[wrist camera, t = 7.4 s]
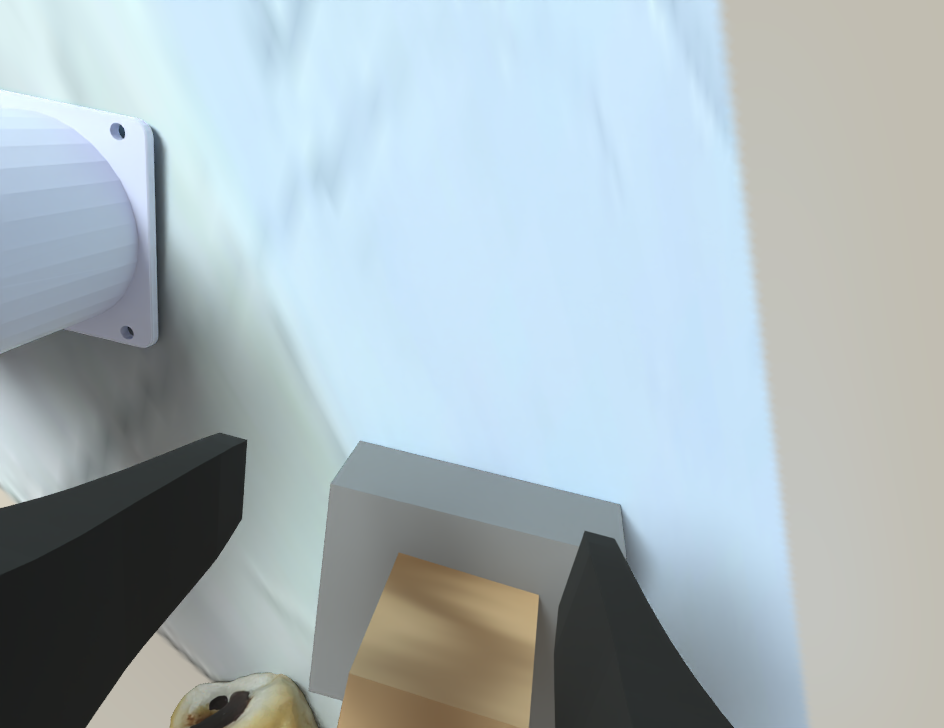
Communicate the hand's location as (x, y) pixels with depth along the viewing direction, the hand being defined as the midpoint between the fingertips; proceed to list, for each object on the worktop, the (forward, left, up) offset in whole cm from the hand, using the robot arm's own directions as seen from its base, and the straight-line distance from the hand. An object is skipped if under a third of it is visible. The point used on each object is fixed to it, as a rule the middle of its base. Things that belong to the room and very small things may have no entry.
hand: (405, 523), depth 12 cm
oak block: (+1, -9, -6) cm, 11 cm away
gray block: (+1, -9, -9) cm, 13 cm away
